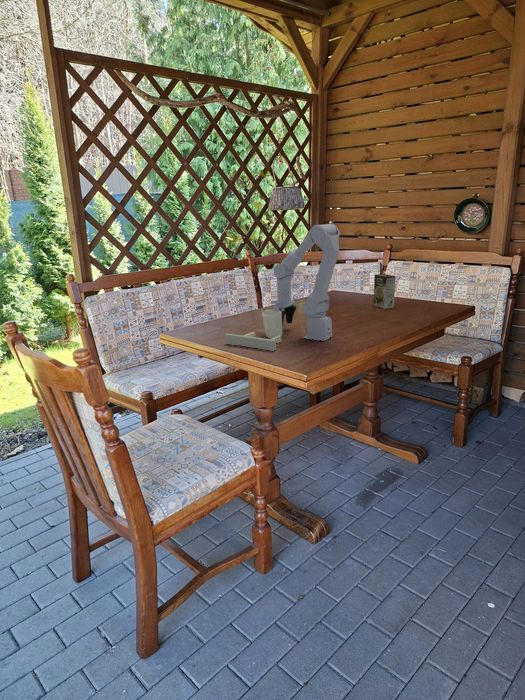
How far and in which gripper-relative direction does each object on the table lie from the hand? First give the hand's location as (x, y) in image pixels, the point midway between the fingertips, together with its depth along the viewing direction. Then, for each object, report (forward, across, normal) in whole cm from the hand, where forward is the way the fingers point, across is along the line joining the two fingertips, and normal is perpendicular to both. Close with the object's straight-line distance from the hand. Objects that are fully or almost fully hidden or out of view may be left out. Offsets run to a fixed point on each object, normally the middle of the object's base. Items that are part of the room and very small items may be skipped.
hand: (284, 325), depth 198 cm
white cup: (+3, +9, 0) cm, 9 cm away
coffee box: (+3, -65, +20) cm, 68 cm away
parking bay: (+3, +20, 0) cm, 20 cm away
